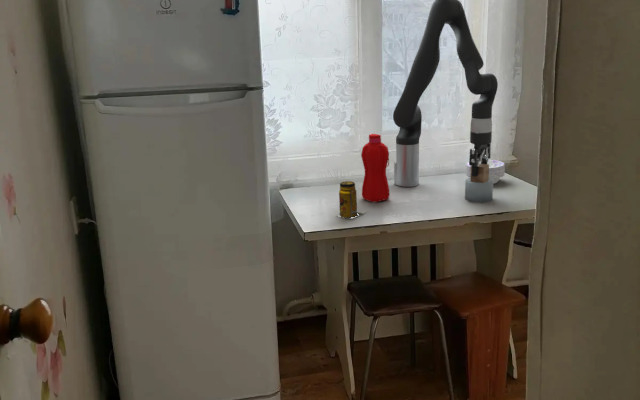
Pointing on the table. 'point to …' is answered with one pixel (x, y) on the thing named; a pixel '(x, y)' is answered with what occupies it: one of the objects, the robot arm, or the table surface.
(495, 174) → the paper bowls
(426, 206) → the table surface
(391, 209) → the table surface
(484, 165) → the walnut block
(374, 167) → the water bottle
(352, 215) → the condiment
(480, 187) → the slate canister
